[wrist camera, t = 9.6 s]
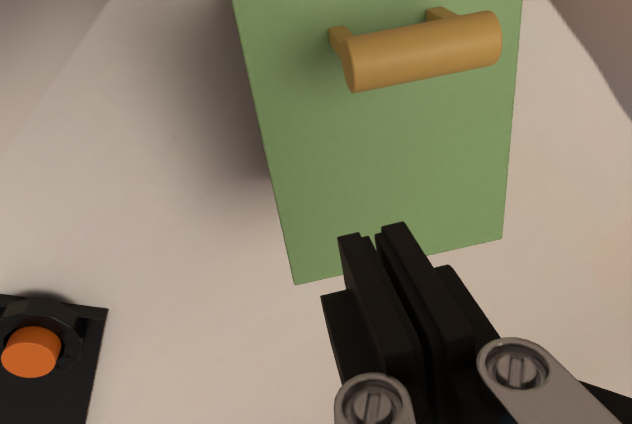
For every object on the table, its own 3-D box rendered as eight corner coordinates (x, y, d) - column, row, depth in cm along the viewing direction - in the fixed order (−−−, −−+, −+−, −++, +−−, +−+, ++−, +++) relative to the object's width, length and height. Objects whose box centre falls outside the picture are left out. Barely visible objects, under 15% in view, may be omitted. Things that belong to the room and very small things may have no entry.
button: (10, 322, 37) (2, 339, 35) (64, 329, 38) (57, 346, 36) (7, 357, 38) (-1, 375, 37) (59, 362, 39) (52, 380, 38)
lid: (230, -5, 19) (236, 29, 14) (517, -58, 20) (610, -42, 15) (292, 276, 27) (309, 356, 23) (495, 231, 28) (552, 299, 23)
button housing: (-17, 278, 37) (-34, 305, 35) (111, 297, 40) (103, 323, 38) (-24, 428, 45) (-39, 459, 42) (83, 435, 48) (76, 464, 45)
